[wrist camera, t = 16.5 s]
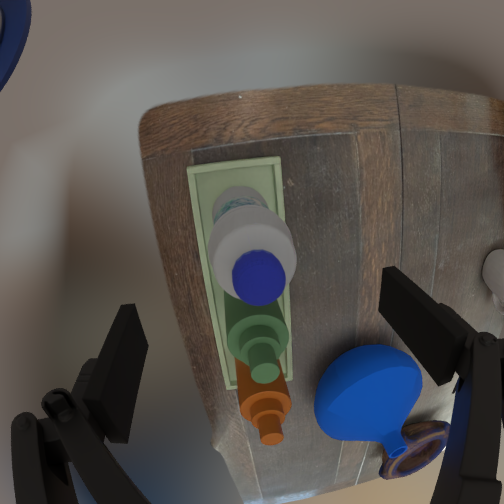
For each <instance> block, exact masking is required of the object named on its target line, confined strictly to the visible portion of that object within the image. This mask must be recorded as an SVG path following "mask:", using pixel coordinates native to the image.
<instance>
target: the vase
mask: <svg viewBox="0 0 504 504" xmlns="http://www.w3.org/2000/svg"><path fill="white" fill-rule="evenodd" d="M421 389H422V375H421V371H420V369H419V367H418V365H417V364H416V362H415V361H414V360H413V359H412V358H411V356H409V355H408V354H406V353H405V352H403V351H401V350H398V349H396V348H393V347H391V346H387V345H382V344H375V345H363V346H359V347H356V348H353V349H351V350H349V351H347V352H345V353H343V354H342V355H340V356H339V357H338V358H336V359H335V360H334V361H333V362H332V363H331V364H330V365H329V366H328V368H327V369H326V371H325V373H324V374H323V376H322V377H321V379H320V381H319V383H318V386H317V389H316V395H315V401H314V413H315V416H316V419H317V422H318V424H319V426H320V428H321V429H322V430H323V431H324V432H325V433H326V434H327V435H329V436H330V437H332V438H334V439H338V440H345V441H376V442H379V443H382V445H383V446H384V448H385V450H386V452H387V454H388V456H389V458H396V457H398V456H400V455H402V454H403V453H404V452H405V451H406V450H407V449H408V446H407V445H406V443H405V441H404V439H403V437H402V435H401V428H402V425H403V424H404V422H405V420H406V418H407V416H408V415H409V413H410V411H411V409H412V408H413V406H414V404H415V402H416V401H417V399H418V397H419V396H420V393H421Z"/></svg>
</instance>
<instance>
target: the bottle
mask: <svg viewBox="0 0 504 504" xmlns="http://www.w3.org/2000/svg"><path fill="white" fill-rule="evenodd" d="M212 218H213V225H214V227H213V229H212V231H211V234H210V238H209V242H208V256H209V260H210V263H211V265H212V269H213V272H214V275H215V278H216V280H217V282H218V283H219V285H220V286H221V287H222V289H224V290H225V291H226V292H227V293H228V294H230V295H231V296H233V297H235V298H238V299H241V300H243V301H244V302H246V303H247V304H250V305H254V306H263V305H268V304H270V303H272V302H273V301H275V300H276V299H277V298H279V297H280V295H281V294H282V293H283V291H284V289H285V288H286V286H287V285H288V284H289V283H290V281H291V279H292V277H293V276H294V273H295V269H296V263H297V257H296V251H295V247H294V244H293V239H292V235H291V232H290V230H289V228H288V226H287V225H286V224H285V222H284V221H283V220H282V219H281V218H280V217H279V216H278V215H277V214H275V213H274V212H273V211H271V210H269V208H268V205H267V203H266V201H265V199H264V198H263V197H262V196H261V194H260V193H258V192H257V191H256V190H254V189H253V188H250V187H245V186H233V187H230V188H228V189H227V190H225V191H224V192H223V193H222V194H221V195H220V196H219V197H218V198H217V199H216V201H215V203H214V206H213V212H212Z"/></svg>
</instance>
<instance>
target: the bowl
mask: <svg viewBox="0 0 504 504" xmlns="http://www.w3.org/2000/svg"><path fill="white" fill-rule="evenodd" d="M449 430H450V424H449V423H448V422H446V421H436V420H433V421H426V422H419V423H414V424H410V425H407V426H405V427H403V428H401V435H402V437H403V439H404V441H405V443H406V445H407V446H408V449H407V450H406V451H405V452H404V453H403V454H402V455H400V456H398V457H396V458H389V456H388V454H387V452H386V450H385V449H384V451H383V455H382V461H383V463H382V465H381V468H380V470H379V475H380V477H382V478H383V479H386V480H388V479H394V478H399V477H405V476H407V475H410V474H412V473H415V472H417V471H418V470H420V469H422V468H423V467H425V466H426V465H428V464H429V463H430V462H431V461H432V460H434V459H435V458H436V457H437V456H438V455H439V454H440V453H441V452H442V450H443V449H444V447H445V446H446V444H447V440H448V435H449Z"/></svg>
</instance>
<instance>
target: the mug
mask: <svg viewBox="0 0 504 504" xmlns="http://www.w3.org/2000/svg"><path fill="white" fill-rule="evenodd" d="M482 276H483V279H484V281H485V283H486V285H487V286H488V287H489V288H490V290H491V291H492V298H493V303H494V306H495V308H496V309H497V311H498V312H499V313H501V314H503V315H504V307H503V306H502V304H501V302H500V300H502V301H503V302H504V250H503V249H498V250H494V251H492V252H491V253H490V254H489V255H488V256H487V258H486V260H485V262H484V265H483V270H482ZM499 299H500V300H499Z"/></svg>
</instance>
